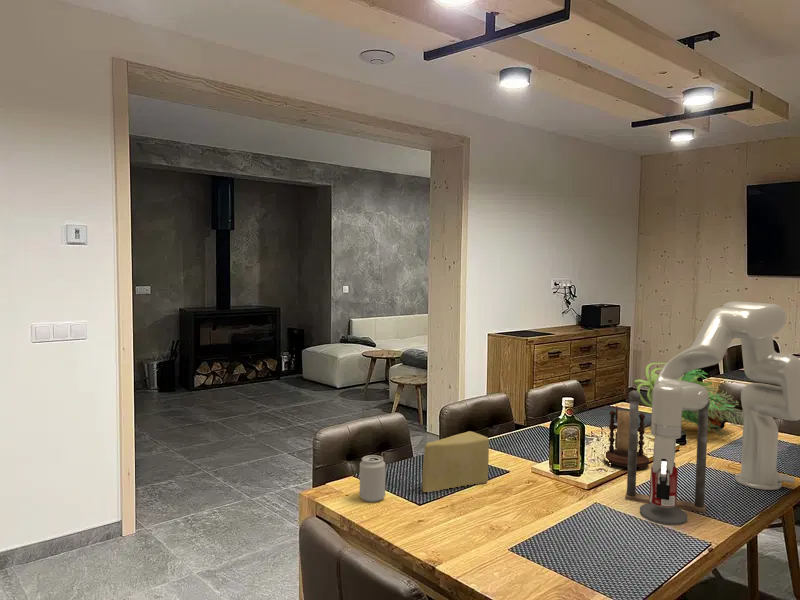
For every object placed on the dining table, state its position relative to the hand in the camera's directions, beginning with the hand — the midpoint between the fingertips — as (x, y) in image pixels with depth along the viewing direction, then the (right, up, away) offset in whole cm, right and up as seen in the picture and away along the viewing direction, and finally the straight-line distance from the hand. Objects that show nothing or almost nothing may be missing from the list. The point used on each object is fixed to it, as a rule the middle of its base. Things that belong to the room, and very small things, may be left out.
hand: (663, 493), depth 165 cm
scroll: (+6, -4, +43) cm, 43 cm away
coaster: (0, -6, +1) cm, 6 cm away
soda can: (0, -4, 0) cm, 4 cm away
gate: (+4, -6, +9) cm, 11 cm away
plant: (+46, -2, +78) cm, 91 cm away
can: (-80, -5, +11) cm, 81 cm away
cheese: (-56, -5, +21) cm, 60 cm away
